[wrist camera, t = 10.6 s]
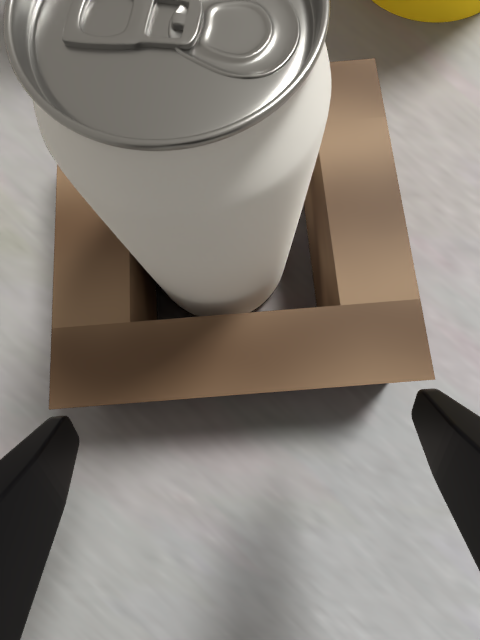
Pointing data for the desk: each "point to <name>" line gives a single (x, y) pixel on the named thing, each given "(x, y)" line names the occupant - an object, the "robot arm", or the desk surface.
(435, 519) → the desk surface
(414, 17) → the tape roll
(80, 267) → the bored block
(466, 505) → the robot arm
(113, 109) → the can
